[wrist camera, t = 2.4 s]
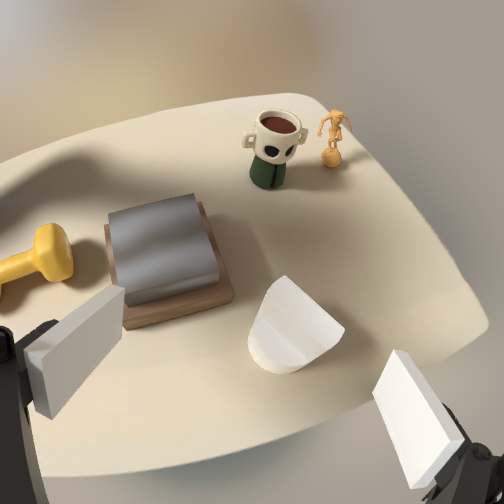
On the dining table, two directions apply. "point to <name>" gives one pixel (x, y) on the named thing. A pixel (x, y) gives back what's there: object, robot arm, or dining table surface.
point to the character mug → (273, 145)
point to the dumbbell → (41, 257)
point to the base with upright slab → (290, 329)
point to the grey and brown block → (165, 261)
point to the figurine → (333, 138)
